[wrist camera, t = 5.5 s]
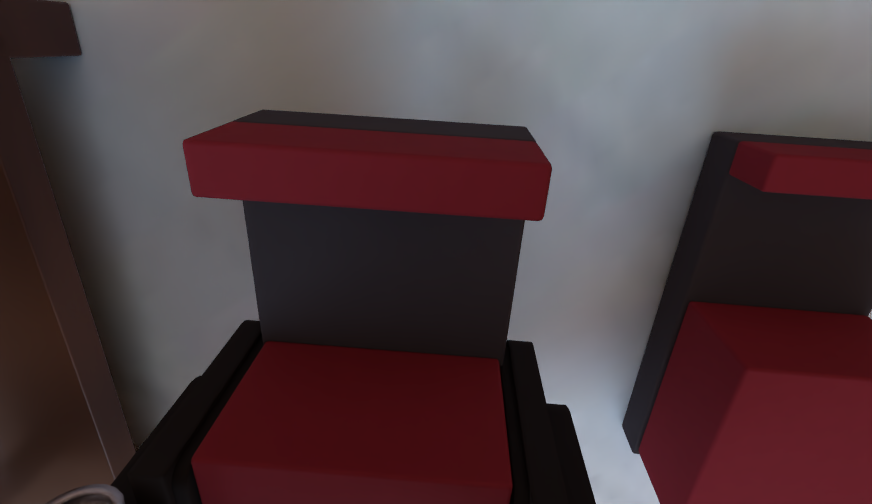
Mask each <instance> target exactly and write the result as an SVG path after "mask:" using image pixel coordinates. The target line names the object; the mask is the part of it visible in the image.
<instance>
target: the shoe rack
mask: <svg viewBox="0 0 872 504" xmlns="http://www.w3.org/2000/svg"><path fill="white" fill-rule="evenodd" d="M80 55H81V50H80V46H79V42H78V38H77V34H76V30H75V26H74V22H73V18H72V15H71V11H70V7H69V4H68V3H66V2H56V1H46V0H0V504H46V503H47V502H49V501H50V500H52V499H53V498H55V497H57V496H58V495H61V494H63V493H65V492H67V491H70V490H72V489H74V488H78V487H82V486H86V485H90V484H107V485H111V484H112V483H113V481H114V480H115V479H116V478H117V476H118V475H119V474H120V472H121V471H122V470H123V469H124V467H125V466H126V465H127V463H128V462H129V461H130V460H131V458H132V457H133V456H134V455H135V453H136V451H135V448H134V445H133V442H132V439H131V436H130V432H129V429H128V426H127V423H126V420H125V417H124V414H123V411H122V407H121V404H120V401H119V398H118V395H117V392H116V389H115V385H114V382H113V379H112V376H111V373H110V370H109V367H108V364H107V360H106V357H105V354H104V351H103V348H102V345H101V342H100V338H99V335H98V332H97V329H96V326H95V323H94V320H93V316H92V313H91V310H90V307H89V304H88V301H87V298H86V295H85V291H84V288H83V285H82V282H81V279H80V276H79V273H78V269H77V266H76V263H75V260H74V257H73V254H72V251H71V248H70V244H69V241H68V238H67V235H66V232H65V229H64V226H63V222H62V219H61V216H60V213H59V210H58V207H57V204H56V200H55V197H54V194H53V191H52V188H51V185H50V182H49V179H48V175H47V172H46V169H45V166H44V163H43V160H42V157H41V153H40V150H39V147H38V144H37V141H36V138H35V135H34V132H33V128H32V125H31V122H30V119H29V116H28V113H27V110H26V106H25V103H24V100H23V97H22V94H21V91H20V88H19V84H18V81H17V78H16V75H15V72H14V69H13V66H12V63H11V59H10V58H32V57H61V56H80Z"/></svg>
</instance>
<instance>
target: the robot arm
mask: <svg viewBox="0 0 872 504" xmlns="http://www.w3.org/2000/svg"><path fill="white" fill-rule="evenodd" d="M262 347H263V341H262V333H261V326H260V321H253V320H246V321H244V322H243V323H242V324H241V325H240V326H239V328H238V329H237V330H236V332H235V333H234V334H233V335H232V337H231V338H230V339H229V341H228V342H227V343H226V345H225V346H224V347H223V349H222V350H221V351H220V353H219V354H218V355H217V356H216V358H215V359H214V360H213V362H212V363H211V364H210V366H209V367H208V368H207V370H206V371H205V372H204V373H203V375H202V376H199V377H196V378H195V379H194V380H193V381H192V382H191V383H190V384H189V385H188V387H187V388H186V389H185V390H184V392H183V393H182V394H181V396H180V397H179V398H178V399H177V401H176V402H175V403H174V405H173V406H172V407H171V408H170V410H169V411H168V412H167V413H166V415H165V416H164V417H163V419H162V420H161V421H160V422H159V424H158V425H157V426H156V428H155V429H154V430H153V431H152V433H151V434H150V435H149V437H148V438H147V439H146V440H145V442H144V443H143V444H142V446H141V447H140V448H139V449H138V451H137V452H136V453H135V455H134V456H133V457H132V458H131V460H130V461H129V462H128V463H127V465H126V466H125V467H124V469H123V470H122V471H121V472H120V474H119V475H118V476H117V478H116V479H115V480H114V481H113V483H112V484H111V485H107V484H90V485H86V486H82V487H78V488H74V489H72V490H70V491H67V492H65V493H63V494H61V495H58V496H57V497H55V498H53V499H52V500H50V501H49V502H47V503H46V504H202V502H201V498H200V494H199V491H198V487H197V483H196V479H195V476H194V472H193V468H192V464H191V459H192V457H193V455H194V453H195V452H196V450H197V449H198V447H199V446H200V444H201V442H202V441H203V439H204V438H205V436H206V435H207V433H208V432H209V430H210V428H211V427H212V425H213V424H214V422H215V421H216V419H217V417H218V416H219V414H220V413H221V411H222V410H223V408H224V407H225V405H226V403H227V402H228V400H229V399H230V397H231V396H232V394H233V392H234V391H235V389H236V388H237V386H238V385H239V383H240V382H241V380H242V378H243V377H244V375H245V374H246V372H247V371H248V369H249V367H250V366H251V364H252V363H253V361H254V360H255V358H256V357H257V355H258V353H259V352H260V350H261V349H262ZM500 375H501V384H502V393H503V402H504V411H505V420H506V429H507V439H508V448H509V457H510V466H511V475H512V484H513V488H512V493H511V498H510V504H596V503H595V499H594V495H593V492H592V488H591V485H590V481H589V478H588V474H587V471H586V467H585V463H584V460H583V456H582V453H581V449H580V446H579V442H578V439H577V435H576V432H575V428H574V424H573V421H572V417H571V414H570V411H569V409H568V407H567V406H566V405H558V404H546V400H545V396H544V391H543V387H542V382H541V378H540V373H539V369H538V364H537V360H536V355H535V351H534V346H533V343H532V342H525V341H512V340H507V342H506V348H505V354H504V361H503V366H501V369H500Z"/></svg>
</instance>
